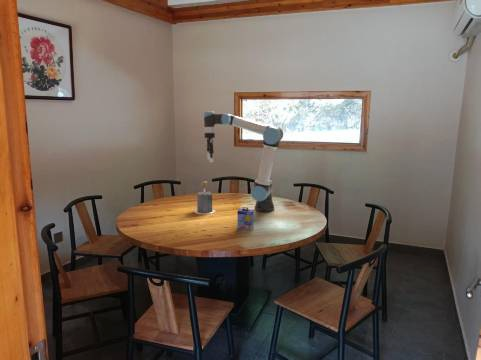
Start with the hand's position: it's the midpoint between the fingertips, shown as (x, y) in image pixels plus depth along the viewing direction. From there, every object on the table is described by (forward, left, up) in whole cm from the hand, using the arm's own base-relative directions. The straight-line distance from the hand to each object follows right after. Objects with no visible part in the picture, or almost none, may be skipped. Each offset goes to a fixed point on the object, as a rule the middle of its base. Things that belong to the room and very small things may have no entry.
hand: (210, 161), depth 276 cm
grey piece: (+5, +5, -37) cm, 38 cm away
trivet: (+5, +6, -38) cm, 39 cm away
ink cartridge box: (-18, +49, -38) cm, 64 cm away
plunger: (+5, +6, -33) cm, 34 cm away
